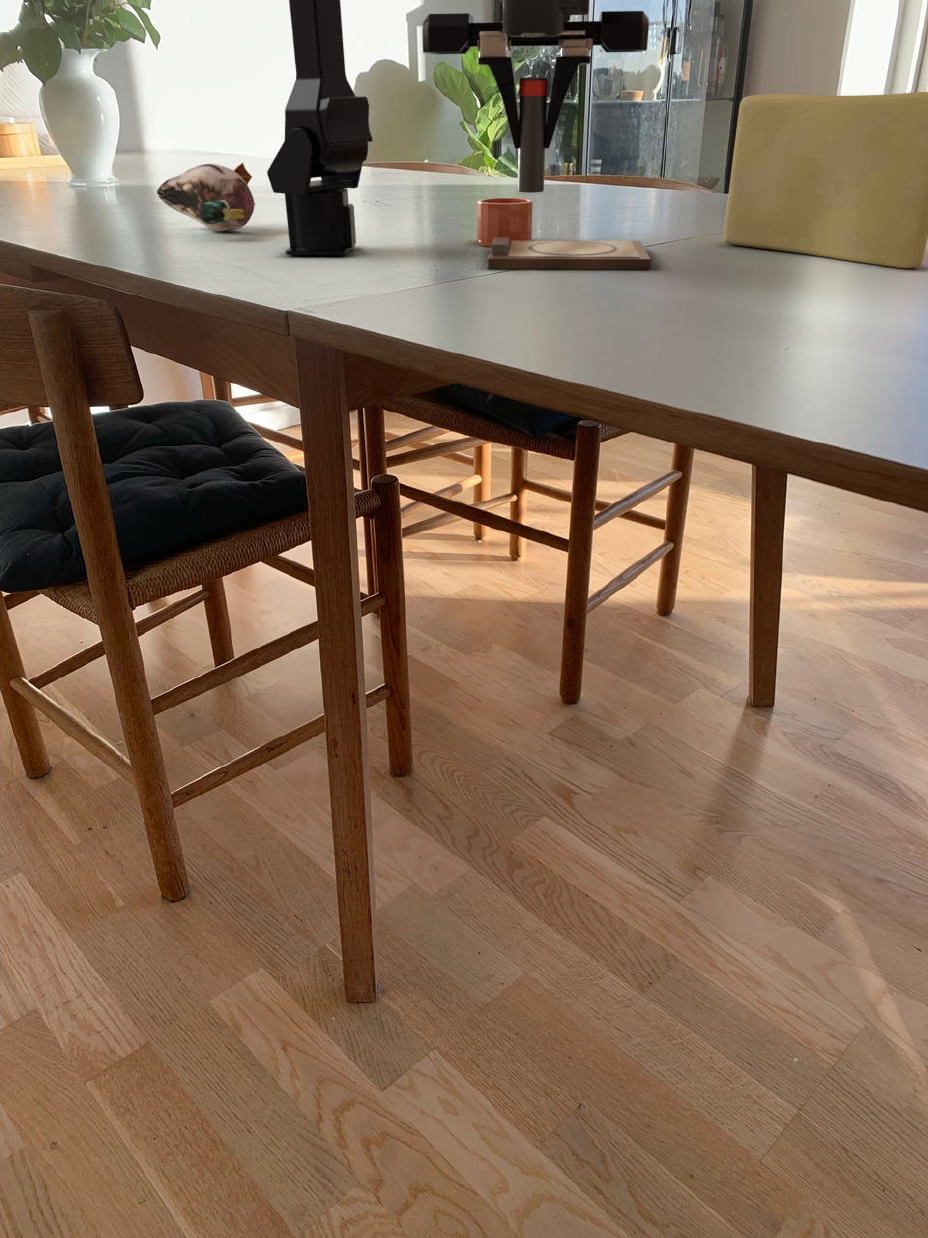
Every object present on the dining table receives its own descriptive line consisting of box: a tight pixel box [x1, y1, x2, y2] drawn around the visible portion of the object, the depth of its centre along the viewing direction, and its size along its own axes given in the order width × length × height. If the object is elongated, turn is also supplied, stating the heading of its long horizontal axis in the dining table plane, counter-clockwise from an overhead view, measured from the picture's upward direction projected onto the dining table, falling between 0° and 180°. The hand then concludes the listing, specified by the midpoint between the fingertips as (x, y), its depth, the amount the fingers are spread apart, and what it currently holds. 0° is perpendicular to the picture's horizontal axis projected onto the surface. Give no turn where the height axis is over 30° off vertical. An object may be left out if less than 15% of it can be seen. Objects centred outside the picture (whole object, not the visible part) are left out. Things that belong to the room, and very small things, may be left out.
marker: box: [517, 76, 549, 194], centre depth 81 cm, size 2×2×9 cm
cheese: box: [722, 91, 928, 269], centre depth 93 cm, size 22×10×15 cm, turn 31°
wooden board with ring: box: [487, 237, 652, 271], centre depth 95 cm, size 16×12×2 cm
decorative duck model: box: [156, 162, 256, 232], centre depth 113 cm, size 15×8×15 cm
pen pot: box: [476, 197, 534, 248], centre depth 104 cm, size 6×6×4 cm
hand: (531, 148), depth 82 cm, fingers closed on marker, 2 cm apart
